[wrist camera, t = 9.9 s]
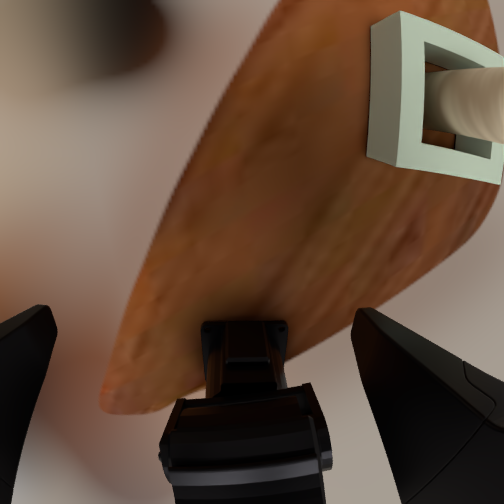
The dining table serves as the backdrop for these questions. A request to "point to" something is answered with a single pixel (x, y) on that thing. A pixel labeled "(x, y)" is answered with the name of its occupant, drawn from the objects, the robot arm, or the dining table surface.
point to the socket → (412, 98)
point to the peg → (466, 102)
